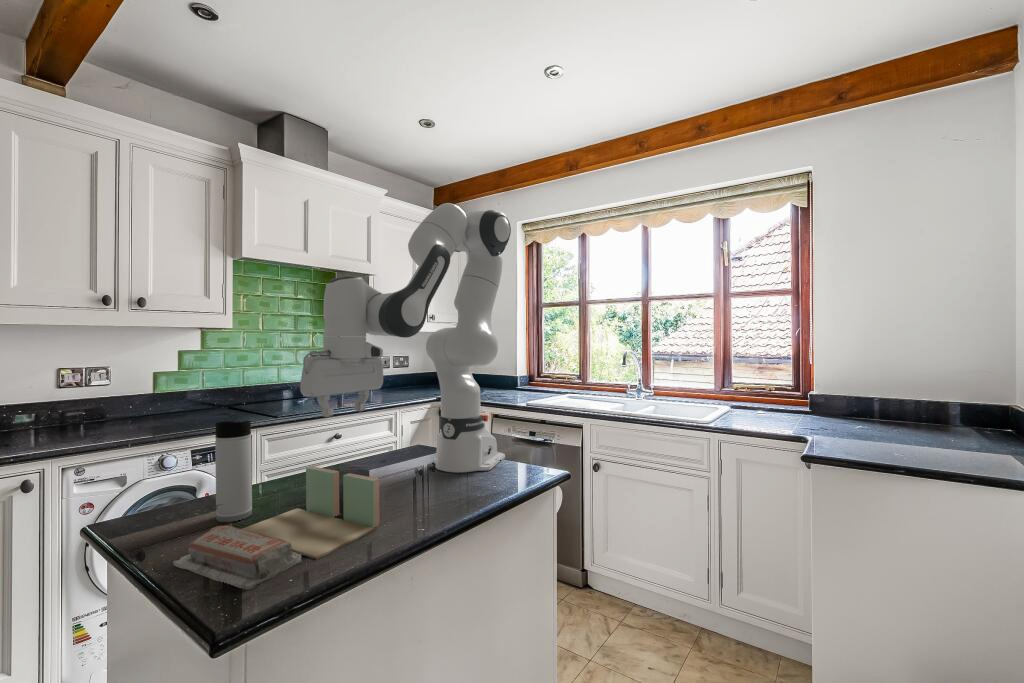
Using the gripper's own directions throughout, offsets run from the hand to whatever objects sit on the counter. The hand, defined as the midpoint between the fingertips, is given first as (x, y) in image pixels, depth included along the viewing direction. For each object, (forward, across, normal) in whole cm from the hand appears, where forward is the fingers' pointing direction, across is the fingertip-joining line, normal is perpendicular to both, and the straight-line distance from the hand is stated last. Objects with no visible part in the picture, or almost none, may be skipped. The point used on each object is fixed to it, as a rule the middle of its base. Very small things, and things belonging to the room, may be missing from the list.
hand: (344, 413), depth 101 cm
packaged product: (+21, -27, -6) cm, 34 cm away
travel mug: (+20, -15, +14) cm, 29 cm away
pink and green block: (+20, -6, -11) cm, 23 cm away
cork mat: (+20, -14, -5) cm, 25 cm away
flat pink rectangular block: (+20, -6, 0) cm, 21 cm away
